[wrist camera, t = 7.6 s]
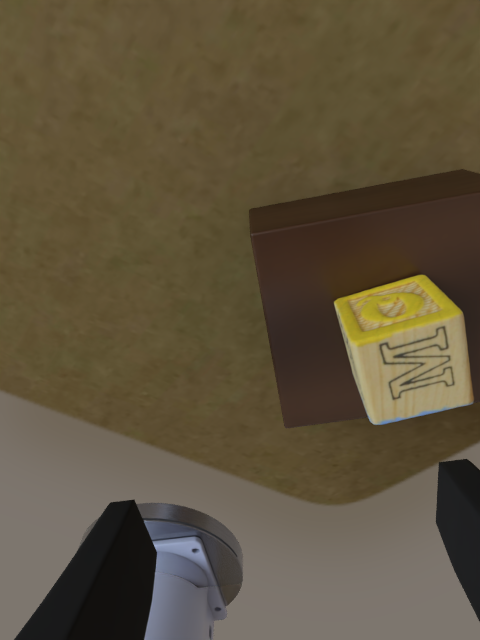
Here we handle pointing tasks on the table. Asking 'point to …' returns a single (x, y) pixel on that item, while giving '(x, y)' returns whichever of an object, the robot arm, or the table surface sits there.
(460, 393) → the alphabet block
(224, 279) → the table surface
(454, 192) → the stand
